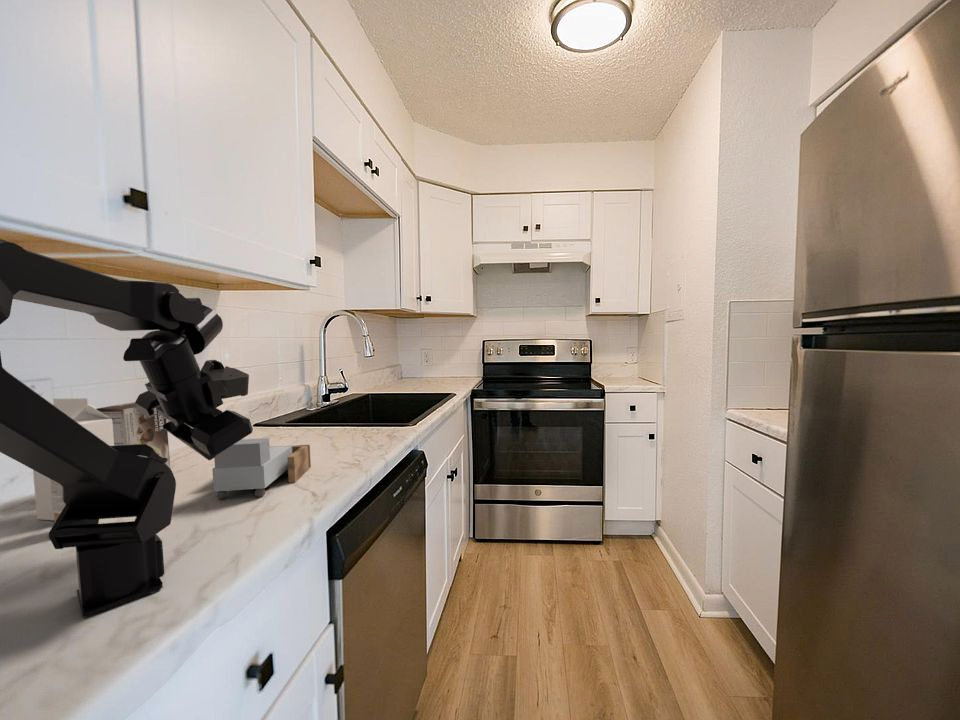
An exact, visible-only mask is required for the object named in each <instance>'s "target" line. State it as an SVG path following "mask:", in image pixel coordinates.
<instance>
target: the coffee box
mask: <svg viewBox="0 0 960 720" xmlns="http://www.w3.org/2000/svg"><path fill="white" fill-rule="evenodd" d="M135 402H136V401H134V402H127V403H122V404H114V405H108V406H104V407H98V408H97V407H96V409H97V410H98V411H100V412H102V413H103V414H105V415H107V416H108V417H110V418H112V423H113V436H114V446H116V445H134V444H146V445H148V446H150V447H152V448H153V449H154V451H155V452H156V453H157V454H158V455H159V456H160V457H162V458H167V459H168V460H167V462H166V463H165V464H166V465H167V466H168V467H169V468H170V469H171V455H170V446H169V445H170V444H169V435H168V433H169V432H168V431H166V430H165V429H163V427H162V426H163V425H164V424H165V423H167V420H166V418H164V417H162V416H161V415H160V414H159V412H158V410H157V408H159V407H161V405H158V406H156V407H154V408H152V410H153V412H154V416H153V417H151V418H148V417H146V416H145V415H143V414H141V413H140V412H139V410H138V408H137V406H136V404H135ZM171 470H172V469H171Z"/></svg>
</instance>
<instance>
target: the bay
mask: <svg viewBox="0 0 960 720" xmlns="http://www.w3.org/2000/svg"><path fill="white" fill-rule="evenodd" d="M282 446H283V445H278V446H276V447H282ZM291 446H292V454H291V455H290V456H289V457H287V458H288V483H289V484H293V483H296V482H297V481H298V480H300V479H301V478H302V477H303V476H304V475H305V474H306V473H307V472H308V471H309V470H310V469H311V468H310V467H311V466H312V464H311V449H310V448H311V445H310V444H301V445H300V444H298V445H291ZM309 468H310V469H309ZM308 469H309V470H308ZM307 470H308V471H307ZM306 471H307V472H306ZM305 472H306V473H305ZM304 473H305V474H304ZM303 474H304V475H303ZM302 475H303V476H302Z"/></svg>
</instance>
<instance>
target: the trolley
mask: <svg viewBox="0 0 960 720" xmlns="http://www.w3.org/2000/svg"><path fill="white" fill-rule="evenodd" d="M281 446H282V447H277V446H270V437H267V438H263V437H262V438H261V437H259V438H246V439H245V438H243V439H241V440H240V441H238V442H237V443H235V444H233V445H232V446H230V447H229V448H227V449H226V450H224V451H222V452H221V453H219V454H218V455H216V457H215V458H213V459H214V467H213V468H212V484H213V485H212V486H213V492H217V493H216V498H217V499H218V500H224V499H226V498H227V497H228V492H227V491H241V490H244V491H245V490H255V491H254V494H255V496H256V497H259V498H261V497H264V495H265V494H266V489H265V488H267V487H268V486H270V485H271V484H272V483H273V482H275V480H277V479H278V478H279V477H280V476H282V475H283V474H285V475H287V474H288V458H287V457H289V456H290V455H291V454H292V446H293V445H281Z"/></svg>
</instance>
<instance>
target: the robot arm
mask: <svg viewBox="0 0 960 720" xmlns="http://www.w3.org/2000/svg"><path fill="white" fill-rule="evenodd" d="M13 300H16V301H22V302H25V303H26V302H28V303H32V304H37V305H42V306H47V307H53V308H57V309H63V310H68V311H69V310H70V311H72V312H73V311H74V312H78V313H79V312H80V313H84V314H87V315H90V316H92V317H94V319H95V321H96V322H97V323H98V324H100V325H103V326H106V327H109V328H111V329H114V330H116V331H119V332H127V331H128V332H129V331H133V332H134V331H149V332H147V333H146V334H144V335H143V336H142V337H140V338H139V337H138V338H137V337H136V338H135V337H134V338H131V339H130V340H129V344H128V347H127V348H126V350H125V351H124V353H123V358H122V359H123V361H124V362H139V363H140V365H141V366H142V369H143V371H144V373H145V375H146V378H147V379H148V382H147V383H145V384H144V387H145V388H146V389H147V391H144V392H142V393H140V394H139V395H138V396H137V398H136V400H135V401H134V402H135V404H136V406H137V408H138V410H139V412H140V413H141V414H143V415H145V416H146V417H148V418H151V417H153V416H154V412H153V410H152V408H154V407H156V406H158V405H161V407H159V408H157V410H158V412H159V414H160V415H161V416H162V417H164V418H166V420H167V423H165V424H164V425H163V426H162V427H163V429H165V430H166V431H167V432H168V433H169V434H171V435H172V436H174V437H175V438H177V439H178V440H179V441H181V442H182V443H184V444H185V445H186V446H188V447H189V448H191V449H192V450H193V451H195V453H198V454H199V455H201V456H202V457H203V458H205V460H208V461H211V460H213V459H214V458H215V457H216V455H218V454H219V453H221V452H222V451H224V450H226V449H227V448H229V447H230V446H232V445H233V444H235V443H237V442H238V441H240V440H242V439H245V438H246V437H247V436H250V435H251V434H252V433H253V431H254V428H253V425H252V423H251V420H250V418H248V417H246V416H244V415H242V414H240V413H238V412H237V411H235V410H234V411H233V410H230V409H229V410H228V409H226V410H224V411H222V410H221V409H218V407H220V406H222V405H224V401H223V400H224V399H229V398H236V397H239V396H240V397H245V396H248V395H249V384H250V382H249V381H250V380H249V379H250V375H249V374H248V373H246V372H244V371H241V370H240V369H237V368H234V367H230V366H226V365H225V366H224V365H223V363H222V362H221V361H218V360H217V359H207V360H205V362H204V363H203V366H202V367H201V369H200V367H199V364H198V361H197V358H196V357H195V356H197V355H199V354H201V353H202V352H203V351H205V349H206V348H207V347H208V346H209V345H210V344H211V343H212V342H213V340H215V338H217V337H218V335H220V333H221V332H222V331H223V328H224V324H223V323H224V322H223V319H222V317H221V316H220V315H219V314H218V312H216V311H215V310H214V309H213V308H211V307H209V306H207V305H204V304H203V303H202V300H201V298H200V297H185V296H184V295H183V294H182V293H180V290H179V289H178V288H177V287H176V285H173V284H171V283H170V282H169V283H168V282H162V281H161V282H159V281H149V280H147V281H145V280H126V279H119V278H116V277H112V276H109V275H107V274H103V273H100V272H97V271H93V270H91V269H88V268H84V267H81V266H78V265H74V264H71V263H68V262H65V261H62V260H59V259H56V258H53V257H49V256H47V255H43V254H40V253H37V252H34V251H31V250H27V249H25V248H24V247H22V246H20V245H19V244H17V243H15V242H11V241H8V240H5V239H1V238H0V325H2V324H3V323H4V322H5V321H7V319H9V317H10V316H11V310H12V306H13V305H12V304H13ZM2 361H3V360H2V355H1V352H0V453H1V454H3V455H5V456H7V457H8V458H10V459H12V460H14V461H16V462H19V463H20V464H22V465H23V466H26V467H28V468H29V469H31V470H32V471H33V470H35V471H37V472H38V473H40V474H42V475H44V476H46V477H48V478H50V479H51V480H53V481H55V482H57V483H59V484H60V485H62V491H63V502H64V503H65V504H66V505H65V507H64V509H63V510H62V512H61V513H60V515H59V517H58V518H57V520H56V522H55V521H54V523H53V525H52V527H51V528H50V530H49V532H48V535H47V536H48V537H49V539H50V540H49V541H50V542H51V544H52V546H53V548H54V549H55V550H63V549H67V548H75V556H76V566H77V582H78V589H77V590H76V596H77V600H78V605H79V609H80V615H81V617H82V618H85V617H89V616H92V615H95V614H97V613H100V612H103V611H105V610H107V609H111V608H113V607H116V606H119V605H121V604H125V603H126V602H129V601H132V600H135V599H138V598H140V597H143V596H145V595H148V594H151V593H154V592H156V591H159V590H162V589H163V585H164V584H163V581H162V579H161V577H164V575H165V563H164V560H165V559H164V548H163V540H162V539H161V537H160V536H159V535H158V534H159V533H160V532H161V531H163V530H164V529H166V528H167V527H169V526H170V525H171V523H172V515H173V509H174V503H175V502H174V501H175V496H176V489H177V481H176V478H175V475H174V472H173V471H172V469H170V468H171V467H170V468H169V467H168V466H167V465H166V464H165V463H166V462H167V460H168V459H167V458H162V457H160V456H159V455H158V454H157V453H156V452H155V451H154V449H153V448H152V447H150V446H148V445H146V444H134V445H116V446H109V445H108V444H106V443H105V442H104V441H102V440H101V439H100V438H98V437H97V436H95V435H94V434H93V433H91V432H90V431H89V430H87V429H86V428H84V427H83V426H82V425H80V424H79V423H78V422H76V421H75V420H73V419H72V418H71V417H69V416H68V415H66V414H65V413H64V412H62V411H61V410H60V409H58V408H57V407H55V406H54V403H53V404H52V403H51V402H50V401H49V400H47V399H46V398H44V397H42V395H40V394H39V393H37V392H36V391H35V390H33V389H32V388H30V387H29V386H28V385H27V384H25V383H24V382H22V381H21V380H19V379H18V378H17V377H16V376H14V375H13V374H11V373H10V372H8V371H7V370H6V369H5V368H4V367H3V363H2ZM121 518H122V519H123V518H135V519H134V521H133V520H132V521H120V522H119V521H118V522H116V521H115V522H105V523H99V522H100V520H105V519H106V520H107V519H121Z"/></svg>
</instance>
